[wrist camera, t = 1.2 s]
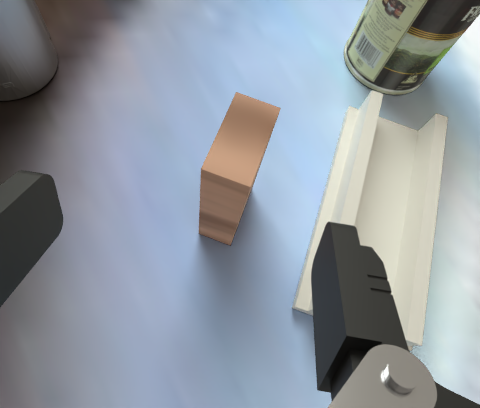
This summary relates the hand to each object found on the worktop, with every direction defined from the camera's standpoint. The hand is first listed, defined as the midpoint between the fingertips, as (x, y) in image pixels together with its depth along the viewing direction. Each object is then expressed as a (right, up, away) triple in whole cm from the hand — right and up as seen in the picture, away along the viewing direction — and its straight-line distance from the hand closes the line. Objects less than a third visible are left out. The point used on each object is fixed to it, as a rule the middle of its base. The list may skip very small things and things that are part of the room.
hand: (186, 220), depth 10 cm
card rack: (+14, -1, +23) cm, 27 cm away
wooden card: (0, 0, +21) cm, 21 cm away
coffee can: (+19, +18, +32) cm, 41 cm away
